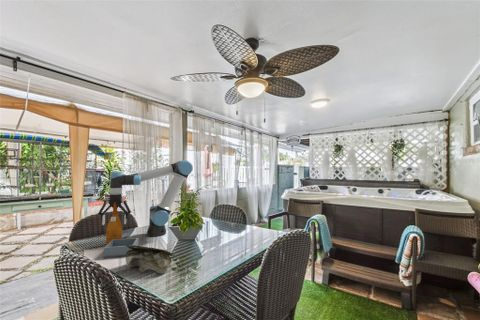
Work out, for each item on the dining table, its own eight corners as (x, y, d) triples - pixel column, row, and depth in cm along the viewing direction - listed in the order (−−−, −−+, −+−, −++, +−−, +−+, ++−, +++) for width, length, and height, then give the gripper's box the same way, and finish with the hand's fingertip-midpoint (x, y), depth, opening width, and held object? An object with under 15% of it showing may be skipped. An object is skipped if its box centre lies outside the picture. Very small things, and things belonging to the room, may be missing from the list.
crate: (138, 246, 146) (138, 237, 146) (133, 255, 131) (133, 245, 131) (112, 248, 142) (112, 239, 142) (103, 258, 126) (104, 247, 127)
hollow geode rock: (125, 273, 118) (109, 261, 109) (138, 251, 127) (124, 237, 118) (168, 281, 109) (154, 267, 99) (179, 256, 118) (166, 242, 109)
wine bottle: (102, 245, 147) (104, 201, 149) (116, 241, 156) (118, 200, 157) (111, 248, 143) (112, 203, 144) (124, 243, 151) (126, 201, 153)
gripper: (136, 193, 158) (134, 222, 157) (97, 193, 151) (96, 223, 150) (134, 194, 151) (132, 224, 150) (93, 194, 144) (91, 226, 143)
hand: (114, 224), depth 150 cm, fingers open, 13 cm apart
